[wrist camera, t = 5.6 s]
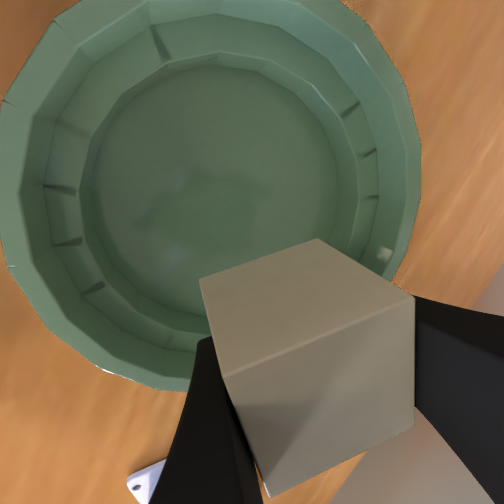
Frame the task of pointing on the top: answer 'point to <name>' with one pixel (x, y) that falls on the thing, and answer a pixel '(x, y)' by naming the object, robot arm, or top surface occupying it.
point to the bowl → (194, 164)
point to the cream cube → (312, 358)
